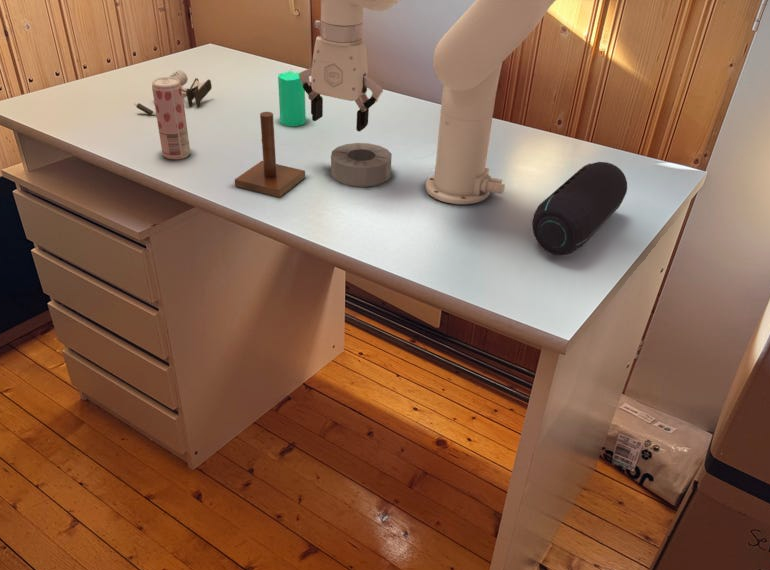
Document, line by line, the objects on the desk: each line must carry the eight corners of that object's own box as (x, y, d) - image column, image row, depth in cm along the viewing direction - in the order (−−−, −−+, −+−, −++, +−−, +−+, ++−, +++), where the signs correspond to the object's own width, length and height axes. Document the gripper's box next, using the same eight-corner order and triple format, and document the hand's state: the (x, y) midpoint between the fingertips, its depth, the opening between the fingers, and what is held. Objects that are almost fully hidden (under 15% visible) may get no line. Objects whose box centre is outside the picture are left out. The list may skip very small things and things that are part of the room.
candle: (311, 121, 165) (310, 68, 158) (292, 128, 162) (290, 74, 154) (293, 114, 168) (292, 62, 161) (274, 121, 165) (271, 67, 157)
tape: (399, 168, 147) (400, 150, 144) (375, 191, 138) (376, 172, 135) (347, 157, 150) (347, 138, 148) (321, 178, 142) (320, 159, 139)
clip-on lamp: (170, 133, 165) (216, 94, 175) (163, 108, 160) (212, 70, 169) (131, 118, 169) (178, 81, 178) (123, 93, 163) (173, 57, 173)
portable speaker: (574, 199, 138) (586, 149, 132) (624, 213, 134) (639, 163, 127) (518, 251, 122) (528, 197, 115) (573, 270, 118) (587, 215, 111)
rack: (305, 177, 142) (303, 110, 133) (279, 197, 135) (276, 127, 126) (262, 167, 145) (257, 101, 137) (235, 186, 138) (228, 117, 129)
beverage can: (180, 146, 152) (169, 74, 142) (196, 154, 149) (186, 81, 139) (157, 154, 149) (145, 80, 139) (173, 162, 146) (161, 88, 136)
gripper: (289, 28, 129) (291, 121, 140) (376, 44, 124) (371, 139, 135) (309, 19, 134) (309, 109, 145) (393, 34, 129) (386, 126, 140)
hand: (339, 123), depth 140 cm, fingers open, 9 cm apart
